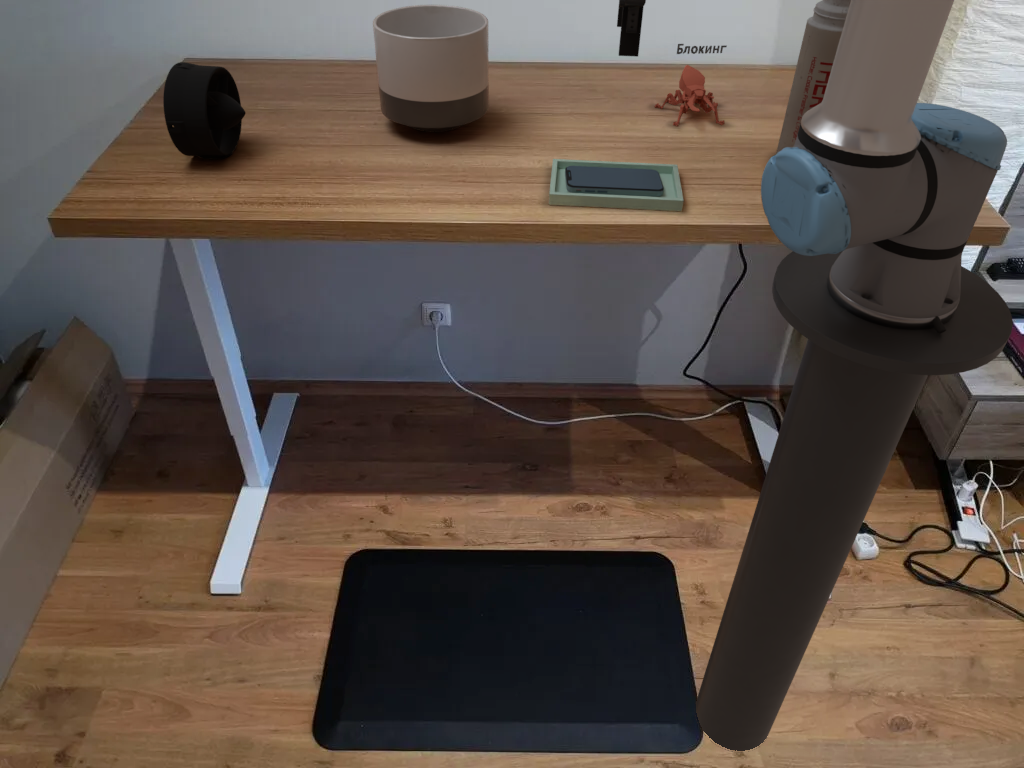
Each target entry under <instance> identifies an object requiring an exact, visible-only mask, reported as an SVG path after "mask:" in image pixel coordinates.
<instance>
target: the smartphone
mask: <svg viewBox="0 0 1024 768" xmlns="http://www.w3.org/2000/svg"><path fill="white" fill-rule="evenodd" d="M565 180H566V189H567V190H568V191H569V192H572V193H587V194H609V195H631V196H653V197H658V196H661V195H663V191H664V187H663V184H662V181H661V178H660V174H659V172H658V171H656V170H653V169H632V168H610V167H588V166H568V167H566V168H565Z"/></svg>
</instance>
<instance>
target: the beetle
mask: <svg viewBox="0 0 1024 768" xmlns="http://www.w3.org/2000/svg"><path fill="white" fill-rule="evenodd" d="M684 45H685V44H684V43H678V44H677V48H676V55H680V54H683V55H684V54H687V55H689V54H690V53H691V54H693V55H695V54H697V53H698V54H702V55H703V54H715V51H716V54H719V53H720V54H722V53H723V49H724V48H727V46H728V45H717V47H716V45H713V46H712V45H709V46H708V45H706V46H705V45H703V46H702V45H699V47H698V46H697V45H693V46H690V45H686V46H684ZM682 46H684V49H683V47H682ZM704 48H705V51H704ZM694 49H695V50H694ZM705 83H706V76H704V74H703V73H702V72H701V71H700V70H698V69H697V68H695V67H693V66H691V65H689V64H686V65H685V66H684V68H683V70H682V72H681V75H680V78H679V81H678V89H676V90H675V93H674V95H673V93H671V92H669V93H667V95H666V98H665V99H664V102H663V103H662V105H661V104H660V103H659V102H657V103H656V104H655V105H654V108H655V109H656V108H657V109H664V108H665V105H666V104H670V105H672V106H677V105H680V106H679V112H678V117H677V121H673V123H672V126H675V127H679V125H680V122H681V120H682V119H681V118H682V116H683V114H684V115H685V114H686V115H687V113H688V112H689V110H691V111H692V112H695V113H700V112H701V109H702V110H703V111H704V113H705V114H709V113H711V112H712V111H713V114H714V118H715V124H719V125H721V126H723V125H725V124H726V123H725V120H724V119H723V120H719V114H718V106H719V103H718V102H715V101H714V100H713V99H715V97H714V96H713V95H714V94H713V92H711V91H708V93H706V92H707V90H706V89H705ZM695 104H697V105H699V108H701V109H699V108H698V107H696V106H695ZM708 106H709V107H708Z"/></svg>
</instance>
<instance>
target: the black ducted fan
mask: <svg viewBox="0 0 1024 768" xmlns="http://www.w3.org/2000/svg"><path fill="white" fill-rule="evenodd" d="M162 98H163V99H162V100H163V102H162V103H163V114H164V115H163V116H164V121H165V126H166V130H167V132H168V135H169V137H170V140H171V142H172V144H173V145H174V147H175V149H176V150H178V152H179V153H181V154H182V155H184V156H187V157H198V158H199V159H206V160H222V159H227V158H229V157H231V156H232V155H233V154H234V152H235V150H236V149H237V147H238V144H239V142H240V138H241V134H242V133H241V132H242V125H243V122H242V121H243V119H244V117H245V115H246V114H247V113H246V111H245V109H244V107H243V106H242V103H241V102H242V101H241V97H240V93H239V89H238V87H237V83H236V81H235V79H234V77H233V75H232V74H231V73H230V71H229V70H228V69H227V68H225V67H224V66H219V65H202V64H201V65H199V64H195V63H191V62H183V61H180V62H177V63H175V64H174V65H172V67H171V68H170V69H169V70H168V73H167V76H166V78H165V82H164V86H163V97H162Z"/></svg>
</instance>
